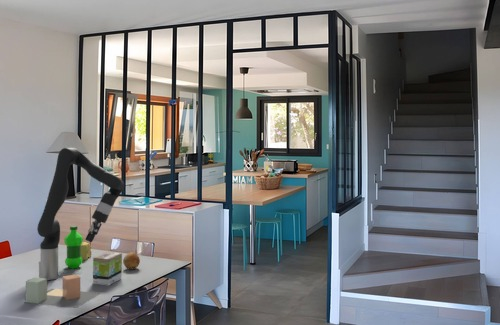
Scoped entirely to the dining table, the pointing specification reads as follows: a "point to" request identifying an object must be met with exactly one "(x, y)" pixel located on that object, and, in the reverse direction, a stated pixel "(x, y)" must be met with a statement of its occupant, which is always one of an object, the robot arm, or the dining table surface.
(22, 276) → the dining table surface
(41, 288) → the grey-green block
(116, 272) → the tea box
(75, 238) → the plastic bottle
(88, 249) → the cheese
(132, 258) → the onion
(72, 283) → the orange block
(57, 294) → the mat
